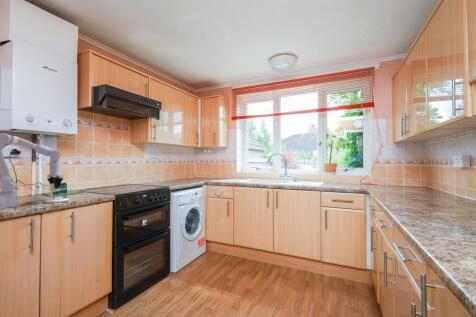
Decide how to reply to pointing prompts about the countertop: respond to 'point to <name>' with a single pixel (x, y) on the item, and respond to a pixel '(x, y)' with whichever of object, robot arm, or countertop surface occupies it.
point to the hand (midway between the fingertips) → (55, 188)
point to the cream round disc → (56, 200)
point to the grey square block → (37, 198)
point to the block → (53, 188)
